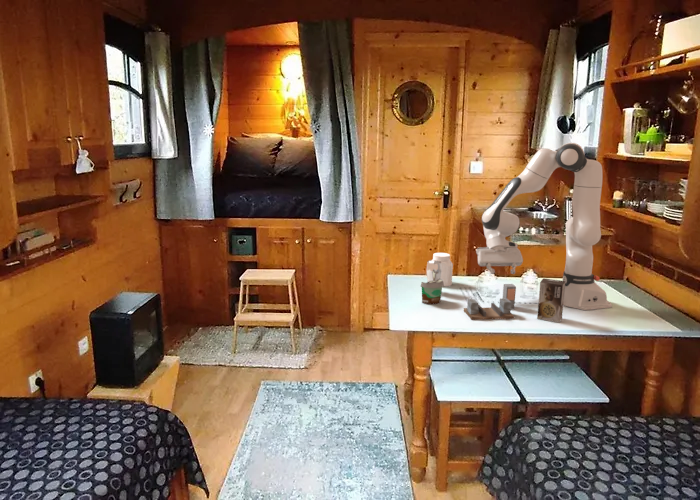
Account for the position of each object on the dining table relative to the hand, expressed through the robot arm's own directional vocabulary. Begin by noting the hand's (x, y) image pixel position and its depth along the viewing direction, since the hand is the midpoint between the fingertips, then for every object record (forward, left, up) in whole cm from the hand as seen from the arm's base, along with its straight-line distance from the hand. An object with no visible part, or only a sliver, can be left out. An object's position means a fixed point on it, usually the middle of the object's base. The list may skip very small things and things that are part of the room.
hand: (503, 273), depth 245 cm
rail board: (+12, +18, -13) cm, 25 cm away
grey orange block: (0, +9, -13) cm, 16 cm away
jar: (+21, -28, -13) cm, 38 cm away
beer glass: (+28, -14, -13) cm, 34 cm away
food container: (+31, +1, -13) cm, 34 cm away
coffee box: (-12, +24, -13) cm, 30 cm away
